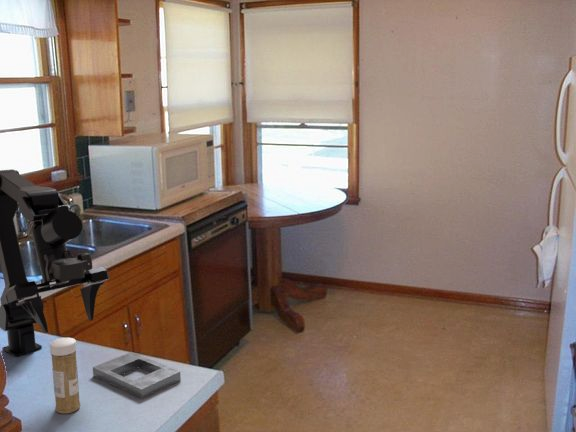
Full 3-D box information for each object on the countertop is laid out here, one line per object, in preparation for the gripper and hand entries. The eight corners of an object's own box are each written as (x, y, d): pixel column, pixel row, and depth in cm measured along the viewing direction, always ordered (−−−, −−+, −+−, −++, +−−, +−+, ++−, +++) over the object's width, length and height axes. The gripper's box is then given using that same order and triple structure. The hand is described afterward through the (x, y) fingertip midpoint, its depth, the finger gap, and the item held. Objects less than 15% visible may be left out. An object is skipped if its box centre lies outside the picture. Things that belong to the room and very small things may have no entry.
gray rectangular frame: (93, 376, 127) (92, 367, 127) (131, 360, 135) (131, 351, 135) (141, 398, 118) (141, 389, 117) (180, 380, 126) (180, 371, 125)
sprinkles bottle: (83, 410, 114) (78, 342, 111) (58, 417, 111) (52, 348, 108) (77, 400, 117) (72, 334, 115) (52, 406, 115) (47, 339, 112)
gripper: (16, 250, 109) (36, 335, 108) (111, 234, 122) (130, 310, 120) (-2, 261, 117) (16, 340, 116) (89, 245, 130) (106, 316, 128)
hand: (69, 326), depth 120 cm, fingers open, 9 cm apart
